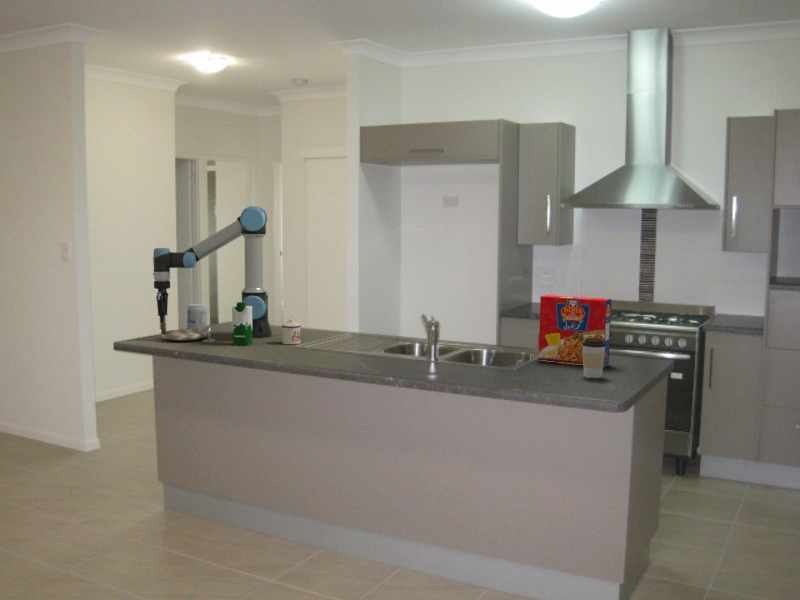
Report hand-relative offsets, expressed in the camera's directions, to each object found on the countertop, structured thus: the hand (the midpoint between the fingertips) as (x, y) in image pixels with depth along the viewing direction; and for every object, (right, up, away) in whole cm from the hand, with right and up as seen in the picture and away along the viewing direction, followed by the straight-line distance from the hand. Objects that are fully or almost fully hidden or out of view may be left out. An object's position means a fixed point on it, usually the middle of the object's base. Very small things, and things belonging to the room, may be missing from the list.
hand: (163, 328), depth 393 cm
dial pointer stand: (+22, -6, -2) cm, 23 cm away
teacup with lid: (+63, -7, -4) cm, 64 cm away
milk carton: (+40, -7, -9) cm, 42 cm away
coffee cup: (+189, -16, -77) cm, 205 cm away
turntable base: (+9, -5, +4) cm, 11 cm away
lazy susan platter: (+9, -4, +3) cm, 11 cm away
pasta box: (+188, -13, -48) cm, 194 cm away
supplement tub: (+10, -3, +25) cm, 27 cm away
